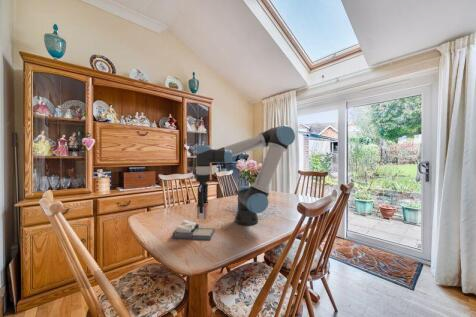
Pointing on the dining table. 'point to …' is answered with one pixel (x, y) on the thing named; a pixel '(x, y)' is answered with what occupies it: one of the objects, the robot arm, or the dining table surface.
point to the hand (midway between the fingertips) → (202, 216)
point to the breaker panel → (195, 234)
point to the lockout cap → (204, 211)
